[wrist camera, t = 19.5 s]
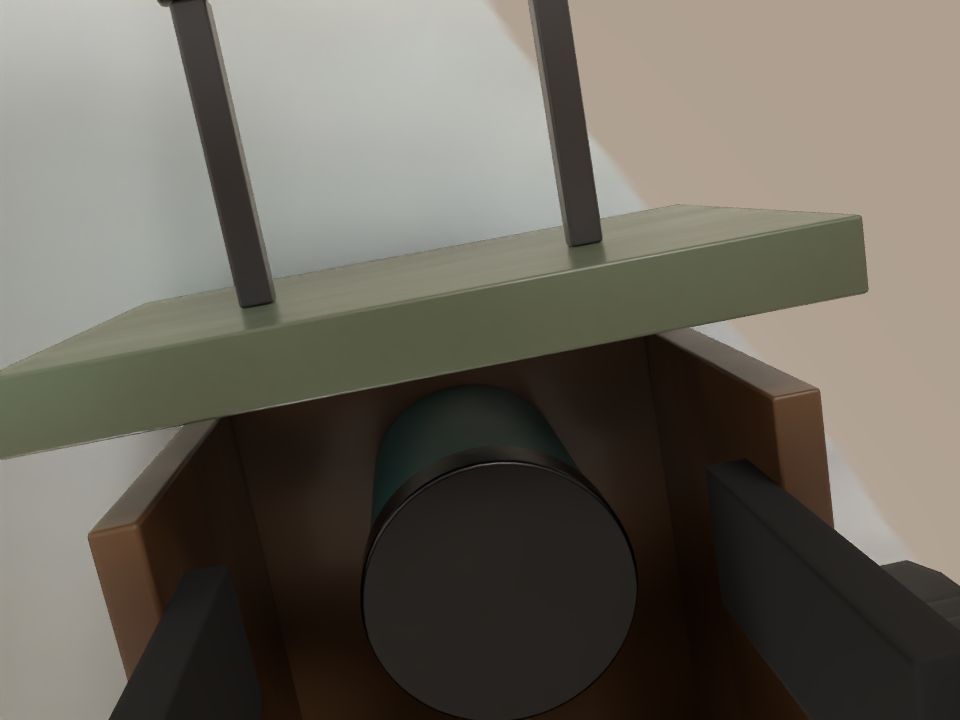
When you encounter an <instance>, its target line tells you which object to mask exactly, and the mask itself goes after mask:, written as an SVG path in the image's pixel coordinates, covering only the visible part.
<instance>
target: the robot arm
mask: <svg viewBox="0 0 960 720" xmlns="http://www.w3.org/2000/svg"><path fill="white" fill-rule="evenodd" d="M705 474H706V481H707V489H708V497H709V505H710V513H711V521H712V529H713V537H714V545H715V553H716V560H717V568H718V576H719V584H720V592H721V600H722V605H723V607H724V608H725V609H726V611H727V612H728V613H729V615H730V616H731V617H732V619H733V620H734V621H735V622H736V624H737V625H738V626H739V628H740V629H741V630H742V632H743V633H744V634H745V635H746V637H747V638H748V639H749V641H750V642H751V643H752V645H753V646H754V647H755V648H756V650H757V651H758V652H759V654H760V655H761V656H762V658H763V659H764V660H765V662H766V663H767V664H768V665H769V667H770V668H771V669H772V671H773V672H774V673H775V675H776V676H777V677H778V678H779V680H780V681H781V682H782V684H783V685H784V686H785V688H786V689H787V690H788V692H789V693H790V694H791V695H792V697H793V698H794V699H795V701H796V702H797V703H798V705H799V706H800V707H801V708H802V710H803V711H804V712H805V714H806V715H807V716H808V718H809V719H810V720H960V586H959V585H958V584H956V583H955V582H953V581H952V580H951V579H949V578H948V577H946V576H945V575H944V574H942V573H941V572H938V571H935V570H932V569H930V568H927V567H924V566H921V565H919V564H916V563H913V562H910V561H908V560H906V561H901V562H896V563H892V564H887V565H882V566H879V565H878V564H876V563H875V562H874V561H873V560H871V559H870V558H869V557H868V556H866V555H865V554H864V553H863V552H862V551H860V550H859V549H858V548H857V547H855V546H854V545H853V544H852V543H850V542H849V541H848V540H847V539H845V538H844V537H843V536H842V535H840V534H839V533H838V532H837V531H835V530H834V529H833V528H832V527H831V526H829V525H828V524H827V523H826V522H824V521H823V520H822V519H821V518H819V517H818V516H817V515H816V514H814V513H813V512H812V511H811V510H809V509H808V508H807V507H806V506H804V505H803V504H802V503H801V502H799V501H798V500H797V499H796V498H795V497H793V496H792V495H791V494H790V493H788V492H787V491H786V490H785V489H783V488H782V487H781V486H780V485H778V484H777V483H776V482H775V481H773V480H772V479H771V478H770V477H768V476H767V475H766V474H765V473H763V472H762V471H761V470H760V469H759V468H757V467H756V466H755V465H754V464H752V463H751V462H750V461H749V460H747V459H746V458H744V459H739V460H734V461H729V462H724V463H720V464H715V465H710V466H705ZM263 704H264V701H263V697H262V693H261V689H260V685H259V681H258V678H257V674H256V670H255V666H254V662H253V658H252V654H251V650H250V646H249V643H248V639H247V635H246V631H245V627H244V623H243V619H242V615H241V611H240V607H239V604H238V600H237V596H236V592H235V588H234V584H233V580H232V576H231V572H230V569H229V565H228V564H223V565H218V566H214V567H209V568H204V569H199V570H194V571H189V572H184V574H183V576H182V578H181V580H180V582H179V584H178V586H177V588H176V590H175V592H174V594H173V595H172V597H171V599H170V601H169V603H168V605H167V607H166V609H165V611H164V613H163V615H162V617H161V619H160V621H159V623H158V625H157V627H156V628H155V630H154V632H153V634H152V636H151V638H150V640H149V642H148V644H147V646H146V648H145V650H144V652H143V654H142V656H141V658H140V660H139V662H138V664H137V666H136V667H135V669H134V671H133V673H132V675H131V677H130V679H129V681H128V683H127V685H126V687H125V689H124V691H123V693H122V695H121V697H120V699H119V701H118V703H117V705H116V707H115V708H114V710H113V712H112V714H111V716H110V718H109V720H260V717H261V713H262V709H263Z"/></svg>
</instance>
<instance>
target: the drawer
mask: <svg viewBox="0 0 960 720" xmlns="http://www.w3.org/2000/svg"><path fill="white" fill-rule="evenodd" d="M157 1H158V3H159V4H160V5H161V6H164V7H170V10H171V15H172V19H173V23H174V28H175V32H176V36H177V41H178V45H179V49H180V53H181V58H182V62H183V66H184V71H185V75H186V79H187V83H188V88H189V92H190V96H191V101H192V105H193V109H194V114H195V118H196V122H197V126H198V131H199V135H200V139H201V144H202V148H203V152H204V156H205V161H206V165H207V169H208V174H209V178H210V182H211V187H212V191H213V195H214V199H215V204H216V208H217V212H218V217H219V221H220V225H221V229H222V234H223V238H224V242H225V247H226V251H227V255H228V260H229V264H230V268H231V272H232V277H233V281H234V285H235V286H234V287H229V288H224V289H218V290H213V291H207V292H202V293H196V294H191V295H186V296H180V297H175V298H169V299H164V300H159V301H153V302H148V303H145V304H142V305H140V306H138V307H136V308H134V309H132V310H129V311H127V312H125V313H123V314H121V315H119V316H116V317H114V318H112V319H110V320H108V321H106V322H103V323H101V324H99V325H97V326H95V327H93V328H90V329H88V330H86V331H84V332H82V333H80V334H77V335H75V336H73V337H71V338H69V339H67V340H64V341H62V342H60V343H58V344H56V345H53V346H51V347H49V348H47V349H45V350H43V351H40V352H38V353H36V354H34V355H32V356H30V357H27V358H25V359H23V360H21V361H19V362H17V363H14V364H12V365H10V366H8V367H6V368H4V369H1V370H0V460H4V459H10V458H15V457H20V456H25V455H30V454H36V453H41V452H46V451H51V450H56V449H61V448H67V447H72V446H77V445H82V444H87V443H93V442H98V441H103V440H108V439H113V438H118V437H124V436H129V435H134V434H139V433H144V432H149V431H155V430H160V429H165V428H170V427H175V426H181V425H184V426H183V428H182V429H181V430H180V431H179V432H178V433H177V434H176V435H175V437H174V438H173V439H172V440H171V441H170V442H169V443H168V444H167V446H166V447H165V448H164V449H163V450H162V451H161V452H160V453H159V455H158V456H157V457H156V458H155V459H154V460H153V461H152V462H151V464H150V465H149V466H148V467H147V468H146V469H145V470H144V471H143V473H142V474H141V475H140V476H139V477H138V478H137V479H136V481H135V482H134V483H133V484H132V485H131V486H130V487H129V488H128V490H127V491H126V492H125V493H124V494H123V495H122V496H121V497H120V499H119V500H118V501H117V502H116V503H115V504H114V505H113V506H112V508H111V509H110V510H109V511H108V512H107V513H106V514H105V515H104V517H103V518H102V519H101V520H100V521H99V522H98V523H97V525H96V526H95V527H94V528H93V529H92V530H91V531H90V532H89V534H88V541H89V545H90V548H91V552H92V555H93V559H94V562H95V566H96V569H97V573H98V576H99V580H100V584H101V587H102V591H103V594H104V598H105V601H106V605H107V608H108V612H109V615H110V619H111V623H112V626H113V630H114V633H115V637H116V640H117V644H118V647H119V651H120V654H121V658H122V662H123V665H124V669H125V672H126V676H127V679H128V681H129V679H130V677H131V675H132V673H133V671H134V669H135V667H136V666H137V664H138V662H139V660H140V658H141V656H142V654H143V652H144V650H145V648H146V646H147V644H148V642H149V640H150V638H151V636H152V634H153V632H154V630H155V628H156V627H157V625H158V623H159V621H160V619H161V617H162V615H163V613H164V611H165V609H166V607H167V605H168V603H169V601H170V599H171V597H172V595H173V594H174V592H175V590H176V588H177V586H178V584H179V582H180V580H181V578H182V576H183V574H184V572H189V571H194V570H199V569H204V568H209V567H214V566H218V565H223V564H228V565H229V569H230V572H231V576H232V580H233V584H234V588H235V592H236V596H237V600H238V604H239V607H240V611H241V615H242V619H243V623H244V627H245V631H246V635H247V639H248V643H249V646H250V650H251V654H252V658H253V662H254V666H255V670H256V674H257V678H258V681H259V685H260V689H261V693H262V697H263V701H264V704H263V709H262V713H261V717H260V720H465V719H460V718H455V717H452V716H449V715H446V714H443V713H441V712H438V711H436V710H434V709H432V708H430V707H428V706H426V705H424V704H422V703H420V702H419V701H417V700H416V699H415V698H413V697H412V696H410V695H409V694H407V693H406V692H405V691H404V690H403V689H402V688H401V687H400V686H398V685H397V684H396V683H395V682H394V681H393V680H392V678H391V677H390V676H389V675H388V674H387V673H386V671H385V670H384V669H383V667H382V666H381V664H380V663H379V661H378V660H377V658H376V657H375V655H374V653H373V651H372V648H371V646H370V644H369V642H368V640H367V636H366V633H365V629H364V626H363V622H362V615H361V609H360V584H361V572H362V563H363V556H364V550H365V547H366V543H367V540H368V536H369V534H370V527H371V512H372V498H373V484H374V472H375V464H376V459H377V456H378V452H379V449H380V446H381V444H382V442H383V439H384V437H385V436H386V434H387V432H388V431H389V429H390V427H391V426H392V425H393V424H394V422H395V421H396V420H397V419H398V417H399V416H400V415H401V414H402V413H403V412H404V411H405V410H407V409H408V408H409V407H410V406H412V405H413V404H414V403H416V402H417V401H418V400H420V399H422V398H424V397H426V396H427V395H429V394H432V393H434V392H437V391H439V390H442V389H446V388H450V387H454V386H461V385H483V386H491V387H495V388H499V389H502V390H505V391H508V392H510V393H513V394H515V395H517V396H519V397H520V398H522V399H524V400H525V401H527V402H528V403H529V404H531V405H532V406H533V407H535V408H536V409H537V410H538V411H539V412H540V413H541V414H542V415H543V416H544V417H545V419H546V420H547V421H548V423H549V424H550V426H551V427H552V428H553V430H554V431H555V433H556V434H557V436H558V438H559V439H560V441H561V442H562V444H563V445H564V447H565V448H566V450H567V451H568V453H569V454H570V456H571V457H572V459H573V460H574V462H575V463H576V465H577V466H578V468H579V469H580V471H581V472H582V474H583V475H584V476H585V477H586V478H587V479H588V480H589V481H590V482H591V483H592V484H593V485H594V486H595V487H596V488H597V489H598V490H599V491H600V493H601V494H602V495H603V497H604V498H605V499H606V501H607V502H608V503H609V505H610V506H611V508H612V509H613V511H614V512H615V514H616V515H617V517H618V518H619V520H620V521H621V523H622V525H623V527H624V529H625V531H626V532H627V534H628V537H629V540H630V542H631V545H632V548H633V550H634V555H635V560H636V564H637V572H638V598H637V605H636V610H635V615H634V619H633V622H632V625H631V628H630V631H629V634H628V636H627V638H626V640H625V642H624V644H623V646H622V648H621V650H620V652H619V653H618V655H617V656H616V658H615V659H614V661H613V662H612V664H611V665H610V666H609V667H608V668H607V670H606V671H605V672H604V673H603V674H602V675H601V677H600V678H599V679H598V680H596V681H595V682H594V683H593V684H592V685H591V686H590V687H589V688H588V689H587V690H585V691H584V692H582V693H581V694H580V695H578V696H577V697H575V698H574V699H573V700H571V701H569V702H567V703H565V704H563V705H562V706H560V707H558V708H556V709H553V710H551V711H548V712H546V713H544V714H541V715H537V716H534V717H530V718H527V719H522V720H810V719H809V718H808V716H807V715H806V714H805V712H804V711H803V710H802V708H801V707H800V706H799V705H798V703H797V702H796V701H795V699H794V698H793V697H792V695H791V694H790V693H789V692H788V690H787V689H786V688H785V686H784V685H783V684H782V682H781V681H780V680H779V678H778V677H777V676H776V675H775V673H774V672H773V671H772V669H771V668H770V667H769V665H768V664H767V663H766V662H765V660H764V659H763V658H762V656H761V655H760V654H759V652H758V651H757V650H756V648H755V647H754V646H753V645H752V643H751V642H750V641H749V639H748V638H747V637H746V635H745V634H744V633H743V632H742V630H741V629H740V628H739V626H738V625H737V624H736V622H735V621H734V620H733V619H732V617H731V616H730V615H729V613H728V612H727V611H726V609H725V608H724V607H723V605H722V600H721V592H720V584H719V576H718V568H717V560H716V553H715V545H714V537H713V529H712V521H711V513H710V505H709V497H708V489H707V481H706V474H705V466H710V465H715V464H720V463H724V462H729V461H734V460H739V459H744V458H746V459H747V460H749V461H750V462H751V463H752V464H754V465H755V466H756V467H757V468H759V469H760V470H761V471H762V472H763V473H765V474H766V475H767V476H768V477H770V478H771V479H772V480H773V481H775V482H776V483H777V484H778V485H780V486H781V487H782V488H783V489H785V490H786V491H787V492H788V493H790V494H791V495H792V496H793V497H795V498H796V499H797V500H798V501H799V502H801V503H802V504H803V505H804V506H806V507H807V508H808V509H809V510H811V511H812V512H813V513H814V514H816V515H817V516H818V517H819V518H821V519H822V520H823V521H824V522H826V523H827V524H828V525H829V526H831V527H832V528H833V529H834V522H833V512H832V502H831V492H830V483H829V473H828V463H827V454H826V444H825V434H824V425H823V415H822V405H821V396H820V390H819V389H818V388H816V387H814V386H812V385H810V384H807V383H805V382H803V381H801V380H799V379H797V378H795V377H793V376H791V375H789V374H786V373H784V372H782V371H780V370H778V369H776V368H774V367H772V366H769V365H767V364H765V363H763V362H761V361H759V360H757V359H755V358H753V357H750V356H748V355H746V354H744V353H742V352H740V351H738V350H736V349H733V348H731V347H729V346H727V345H725V344H723V343H721V342H719V341H717V340H714V339H712V338H710V337H708V336H706V335H704V334H702V333H700V332H697V331H695V330H693V329H691V328H689V327H693V326H699V325H704V324H709V323H714V322H719V321H725V320H730V319H735V318H740V317H745V316H750V315H755V314H761V313H766V312H771V311H776V310H781V309H787V308H791V307H797V306H802V305H807V304H813V303H818V302H823V301H828V300H833V299H838V298H844V297H848V296H854V295H859V294H864V293H866V292H868V279H867V268H866V257H865V245H864V235H863V224H862V217H861V216H860V215H849V214H833V213H815V212H798V211H780V210H763V209H746V208H728V207H711V206H693V205H673V206H667V207H662V208H657V209H651V210H645V211H640V212H635V213H629V214H624V215H618V216H613V217H608V218H602V219H600V215H599V209H598V202H597V195H596V188H595V182H594V175H593V168H592V161H591V155H590V148H589V141H588V134H587V128H586V121H585V114H584V108H583V101H582V94H581V87H580V82H579V74H578V67H577V60H576V54H575V47H574V40H573V33H572V26H571V20H570V13H569V7H568V0H528V4H529V11H530V17H531V24H532V30H533V36H534V43H535V48H536V55H537V62H538V68H539V75H540V81H541V87H542V94H543V100H544V107H545V113H546V119H547V126H548V132H549V138H550V145H551V151H552V158H553V164H554V170H555V177H556V183H557V190H558V196H559V202H560V209H561V215H562V222H563V226H559V227H553V228H548V229H543V230H537V231H532V232H526V233H521V234H516V235H510V236H505V237H499V238H494V239H489V240H483V241H478V242H472V243H467V244H462V245H456V246H451V247H445V248H440V249H434V250H429V251H424V252H418V253H413V254H407V255H402V256H397V257H391V258H386V259H380V260H375V261H370V262H364V263H359V264H353V265H348V266H343V267H337V268H332V269H326V270H321V271H315V272H310V273H305V274H299V275H294V276H288V277H283V278H278V279H272V275H271V271H270V266H269V262H268V257H267V253H266V248H265V244H264V239H263V235H262V231H261V226H260V222H259V217H258V213H257V208H256V204H255V199H254V195H253V190H252V186H251V181H250V177H249V172H248V168H247V164H246V159H245V155H244V150H243V146H242V141H241V137H240V132H239V128H238V123H237V119H236V114H235V110H234V106H233V101H232V97H231V92H230V88H229V83H228V79H227V74H226V70H225V65H224V61H223V56H222V52H221V47H220V43H219V39H218V34H217V30H216V25H215V21H214V16H213V12H212V7H211V5H210V4H209V3H208V2H207V1H206V0H157Z"/></svg>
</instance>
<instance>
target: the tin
mask: <svg viewBox="0 0 960 720" xmlns="http://www.w3.org/2000/svg"><path fill="white" fill-rule="evenodd" d="M637 598H638V572H637V564H636V560H635V555H634V550H633V548H632V545H631V542H630V540H629V537H628V534H627V532H626V531H625V529H624V527H623V525H622V523H621V521H620V520H619V518H618V517H617V515H616V514H615V512H614V511H613V509H612V508H611V506H610V505H609V503H608V502H607V501H606V499H605V498H604V497H603V495H602V494H601V493H600V491H599V490H598V489H597V488H596V487H595V486H594V485H593V484H592V483H591V482H590V481H589V480H588V479H587V478H586V477H585V476H584V475H583V474H582V472H581V471H580V469H579V468H578V466H577V465H576V463H575V462H574V460H573V459H572V457H571V456H570V454H569V453H568V451H567V450H566V448H565V447H564V445H563V444H562V442H561V441H560V439H559V438H558V436H557V434H556V433H555V431H554V430H553V428H552V427H551V426H550V424H549V423H548V421H547V420H546V419H545V417H544V416H543V415H542V414H541V413H540V412H539V411H538V410H537V409H536V408H535V407H533V406H532V405H531V404H529V403H528V402H527V401H525V400H524V399H522V398H520V397H519V396H517V395H515V394H513V393H510V392H508V391H505V390H502V389H499V388H495V387H491V386H483V385H461V386H454V387H450V388H446V389H442V390H439V391H437V392H434V393H432V394H429V395H427V396H426V397H424V398H422V399H420V400H418V401H417V402H416V403H414V404H413V405H412V406H410V407H409V408H408V409H407V410H405V411H404V412H403V413H402V414H401V415H400V416H399V417H398V419H397V420H396V421H395V422H394V424H393V425H392V426H391V427H390V429H389V431H388V432H387V434H386V436H385V437H384V439H383V442H382V444H381V446H380V449H379V452H378V456H377V459H376V464H375V472H374V484H373V498H372V512H371V527H370V534H369V536H368V540H367V543H366V547H365V550H364V556H363V563H362V572H361V584H360V609H361V615H362V622H363V626H364V629H365V633H366V636H367V640H368V642H369V644H370V646H371V648H372V651H373V653H374V655H375V657H376V658H377V660H378V661H379V663H380V664H381V666H382V667H383V669H384V670H385V671H386V673H387V674H388V675H389V676H390V677H391V678H392V680H393V681H394V682H395V683H396V684H397V685H398V686H400V687H401V688H402V689H403V690H404V691H405V692H406V693H407V694H409V695H410V696H412V697H413V698H415V699H416V700H417V701H419V702H420V703H422V704H424V705H426V706H428V707H430V708H432V709H434V710H436V711H438V712H441V713H443V714H446V715H449V716H452V717H455V718H460V719H465V720H522V719H527V718H530V717H534V716H537V715H541V714H544V713H546V712H548V711H551V710H553V709H556V708H558V707H560V706H562V705H563V704H565V703H567V702H569V701H571V700H573V699H574V698H575V697H577V696H578V695H580V694H581V693H582V692H584V691H585V690H587V689H588V688H589V687H590V686H591V685H592V684H593V683H594V682H595V681H596V680H598V679H599V678H600V677H601V675H602V674H603V673H604V672H605V671H606V670H607V668H608V667H609V666H610V665H611V664H612V662H613V661H614V659H615V658H616V656H617V655H618V653H619V652H620V650H621V648H622V646H623V644H624V642H625V640H626V638H627V636H628V634H629V631H630V628H631V625H632V622H633V619H634V615H635V610H636V605H637Z"/></svg>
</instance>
